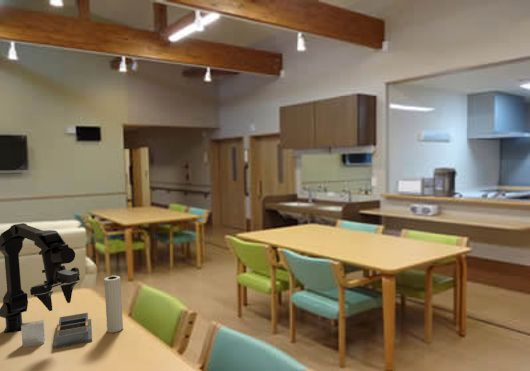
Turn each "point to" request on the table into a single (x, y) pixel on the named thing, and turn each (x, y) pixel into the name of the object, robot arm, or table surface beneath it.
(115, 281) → the paper towel roll
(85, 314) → the rack
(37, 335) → the plain gray rectangular block
